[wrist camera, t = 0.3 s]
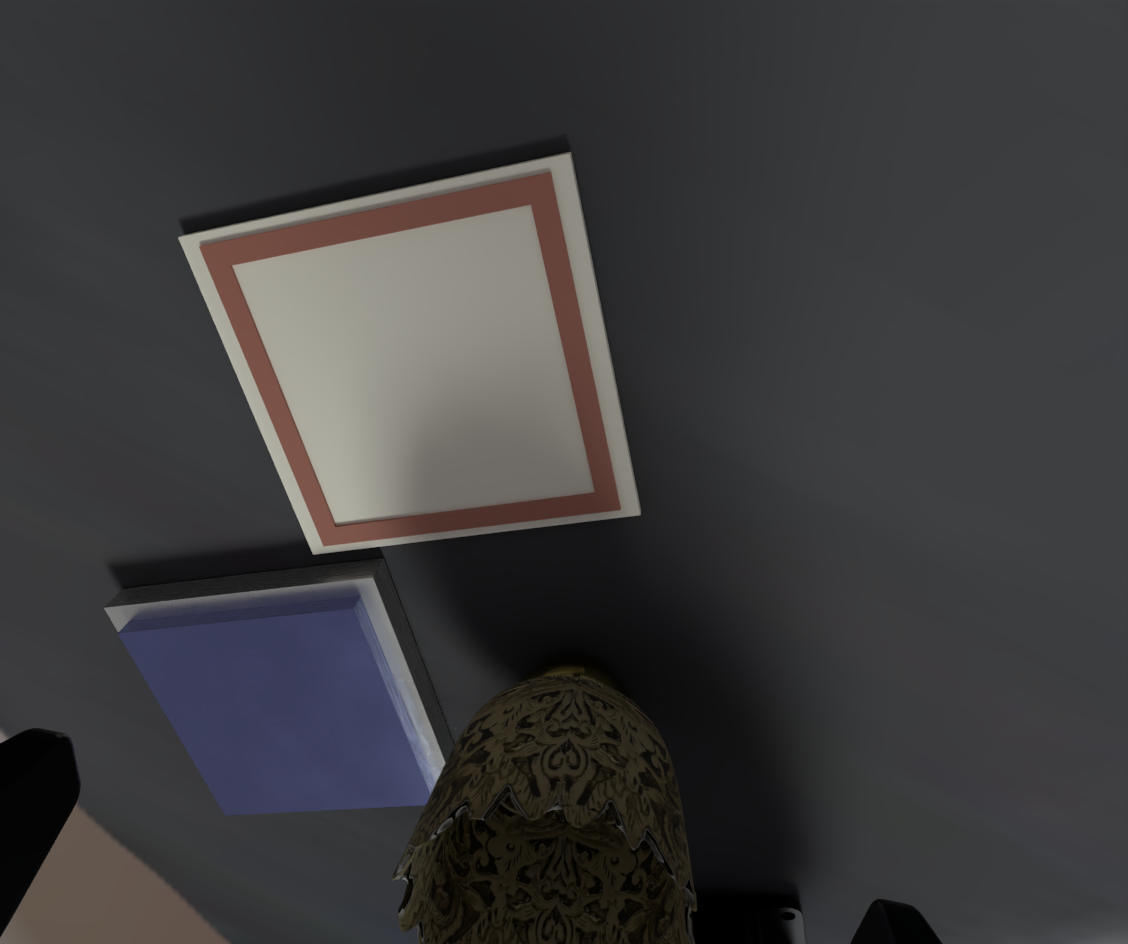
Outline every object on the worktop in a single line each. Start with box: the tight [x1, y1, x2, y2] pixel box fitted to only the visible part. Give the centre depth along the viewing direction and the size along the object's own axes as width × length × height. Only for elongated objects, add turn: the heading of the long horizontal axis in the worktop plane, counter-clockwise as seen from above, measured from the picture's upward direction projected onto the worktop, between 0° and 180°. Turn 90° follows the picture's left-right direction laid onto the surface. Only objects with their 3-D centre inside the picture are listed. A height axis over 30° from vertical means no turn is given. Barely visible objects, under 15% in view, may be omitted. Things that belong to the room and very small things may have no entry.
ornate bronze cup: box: [392, 654, 697, 944], centre depth 23 cm, size 8×7×8 cm
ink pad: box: [104, 558, 454, 815], centre depth 27 cm, size 10×9×2 cm
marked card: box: [178, 152, 641, 555], centre depth 21 cm, size 10×10×1 cm
